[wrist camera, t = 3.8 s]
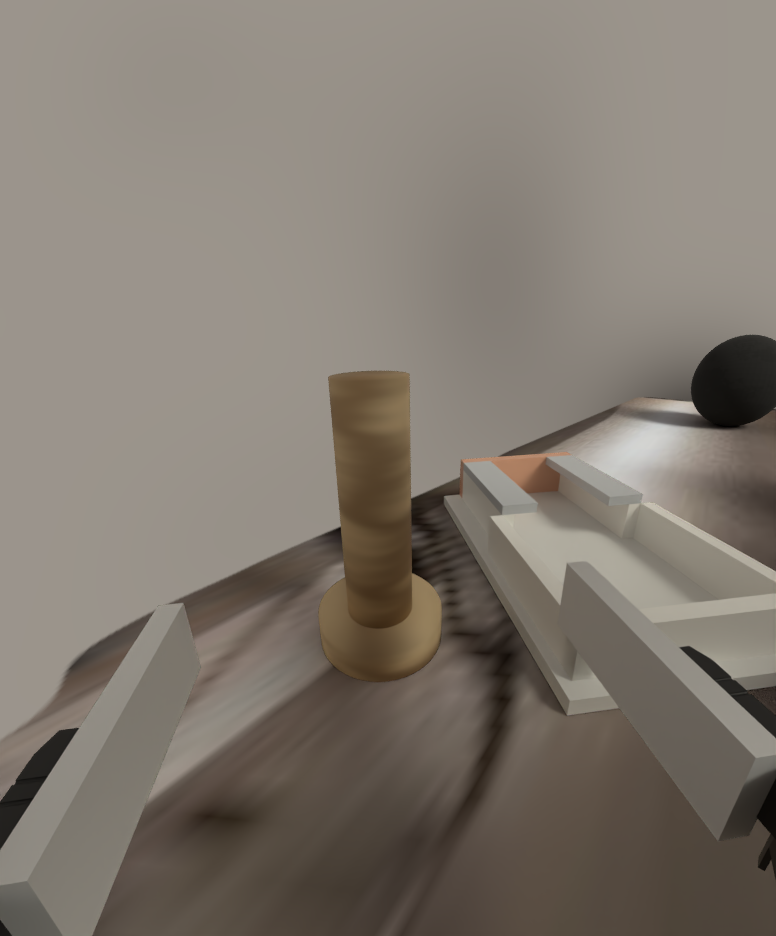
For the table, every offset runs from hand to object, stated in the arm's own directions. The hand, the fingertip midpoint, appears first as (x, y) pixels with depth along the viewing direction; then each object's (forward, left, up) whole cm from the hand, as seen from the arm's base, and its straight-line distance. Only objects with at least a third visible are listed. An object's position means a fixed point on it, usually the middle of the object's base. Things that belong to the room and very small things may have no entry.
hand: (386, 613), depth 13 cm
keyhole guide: (-16, -14, -9) cm, 23 cm away
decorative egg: (-65, -48, -9) cm, 81 cm away
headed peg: (0, -9, -9) cm, 12 cm away
